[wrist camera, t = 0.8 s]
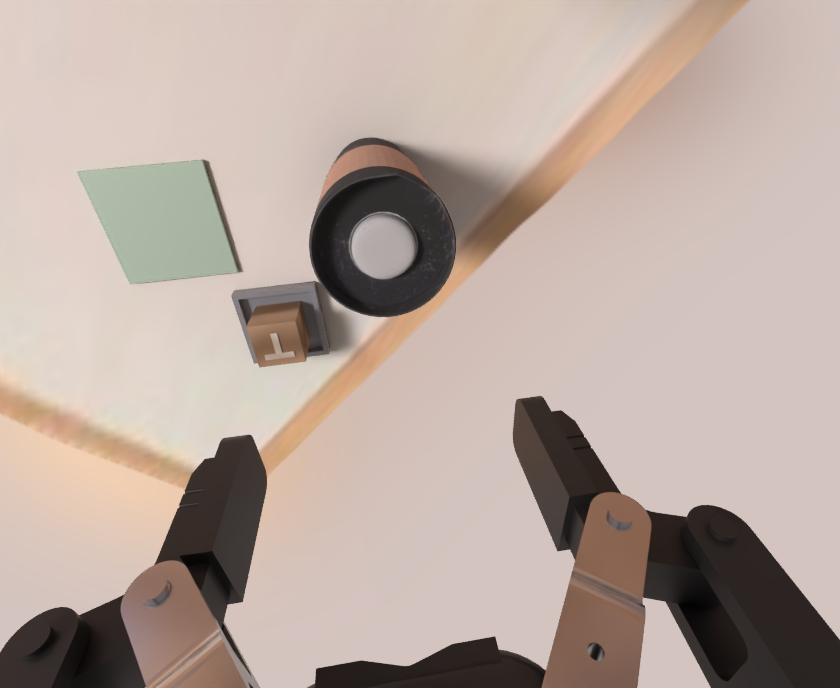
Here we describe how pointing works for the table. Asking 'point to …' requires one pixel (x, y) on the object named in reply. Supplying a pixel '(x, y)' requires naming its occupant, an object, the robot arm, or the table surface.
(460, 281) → the table surface
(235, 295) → the tray
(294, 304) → the letter cube
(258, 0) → the table surface
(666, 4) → the table surface
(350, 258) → the travel mug
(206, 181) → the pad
